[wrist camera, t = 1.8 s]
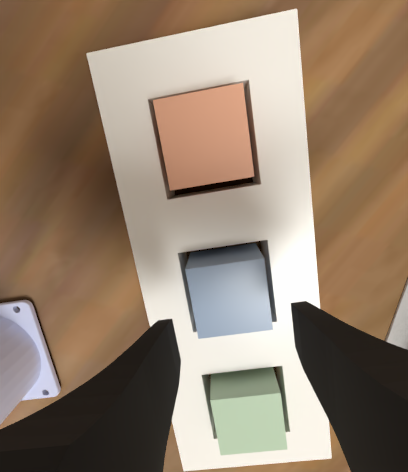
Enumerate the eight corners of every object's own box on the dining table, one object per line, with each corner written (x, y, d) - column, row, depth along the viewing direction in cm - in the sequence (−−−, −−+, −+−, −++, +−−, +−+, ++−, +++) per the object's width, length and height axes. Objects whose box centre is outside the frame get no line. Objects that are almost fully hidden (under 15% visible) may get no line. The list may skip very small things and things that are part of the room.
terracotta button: (178, 187, 16) (170, 190, 13) (165, 114, 15) (152, 100, 12) (246, 175, 15) (254, 176, 12) (237, 100, 14) (242, 82, 12)
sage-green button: (219, 412, 19) (220, 455, 16) (210, 364, 18) (210, 400, 15) (276, 406, 19) (287, 449, 16) (270, 357, 18) (280, 393, 15)
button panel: (187, 430, 21) (183, 471, 19) (110, 75, 16) (86, 53, 13) (315, 418, 21) (331, 458, 18) (281, 40, 15) (297, 8, 12)
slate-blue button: (201, 311, 17) (198, 338, 14) (190, 252, 17) (185, 269, 14) (263, 302, 17) (273, 329, 14) (255, 242, 16) (264, 258, 13)
